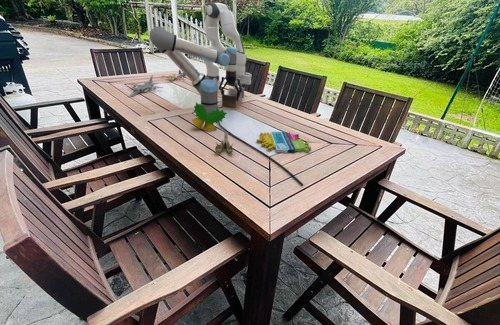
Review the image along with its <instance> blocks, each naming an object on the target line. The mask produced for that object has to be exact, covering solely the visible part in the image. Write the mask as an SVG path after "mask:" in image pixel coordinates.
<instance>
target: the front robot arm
mask: <svg viewBox="0 0 500 325" xmlns="http://www.w3.org/2000/svg"><path fill="white" fill-rule="evenodd" d="M149 40H150V42H151V43H152V45H153V46H154V47H156V49H158V50H159V52H161V54H164V55H166V56H167V57H168V58H169V59H170V60H171V61H172V62H173V63H174V64H175V65H176V66H177V68H179V70H181V72H182V74H183V73H184V74H185V75H186V76H185V77H187V78H188V79H189V80H190V81H191V86H193V87H194V89H195V90H196V91H197V92H198V93H199V94H200V104H201V106H204V109H206V112H208V113H211V112H212V110H214V111H216V110H217V109H219V111H221V110H220V108H219V102H218V99H219V98H218V97H219V92H218V84H217V82H216V81H214V80H210V79H208V78H207V77H206V74H205V73H203V72H200V70H198V68H197V67H196V66H195V65H194V64H193V63H192V61H191V60H190V59H189V58H188V57H187V56H186V55H188V56H192V57H195V58H198V59H201V60H203V59H204V60H208V61H211V62H213V63H215V64H217V65H219V66H223V67H225V76H221V80H220V81H221V83H220V86H219V90H221V91H220V95H221V96H222V94H223V93H224V92H225V90H224V89H225V88H226V86H227V85H229V84H232V85H233V87H235V88H236V90H237V91H238V92H237V101H238V100H239V97H240V92H242V91H243V90H242V88H243V87H242V86H241V83H240V78H239V79H237V78H236V71H235V70H236V59H237V48H236V47H233V46H227V47H225V48H226V50H225V51H219V50H213V49H210V48H207V47H204V46H205V45H201V44H199V43H195V42H192V41H190V40H189V41H188V40H186V39H184V38H180V37H179V36H178V35H177V34H174V33H171V32H170V31H168V30H166V28H164V27H162V26H155V27H153V28H151V30H150V32H149ZM236 80H237V82H238V86H239V88H238V86H237V84H236V82H235V81H236ZM222 85H223V86H222ZM239 89H240V90H239ZM208 113H207V115H208ZM217 125H219V127H220V128H221V129H223V130H224V131H225V132H228V135H231V136H232V137H233V138H235V139H237V140H238V141H240V142H242V143H243V144H245V145H247V146H248V147H250V148H251V149H254V150H255V151H257V152H258V153H260V154H262V155H263V156H264V157H266V158H268V159H269V160H270V161H272V162H274V163H275V164H276V165H277V166H279V167H280V168H281V169H283V170H284V171H285V172H286V173H287V174H289V175H290V176H291V177H292V178H293V179H294V180H295V181H297V183H298V184H300V186H304V184H303V182H302V181H301V180H299V178H297V177H296V176H295V175H294V174H293V173H292V172H291V171H289V170H288V168H286V167H284V166H283V165H282V164H281V163H279V162H278V161H277V160H275V159H274V158H272V157H271V156H270V155H268V154H267V153H264V152H263V151H261V149H258V148H257V147H255V146H253V145H251V144H249V143H248V142H246V141H245V140H243V139H241V138H240V137H238V136H236V135H235V134H233V133H232V132H231V131H229V130H228V129H226V128H225V127H224V126H223V125H221V121H219V122H218V123H217Z"/></svg>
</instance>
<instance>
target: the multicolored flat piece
mask: <svg viewBox="0 0 500 325" xmlns="http://www.w3.org/2000/svg"><path fill="white" fill-rule="evenodd" d="M299 136H300V135H299V134H298V133H296V134H294V133H291V132H287V131H270V132H264V133H263V132H260V133H259V139H258V138H257V139H256V143H257V144H261V148H263V147H264V148H265V149H267V151H268V152H271V151H272V150H273V149H275V152H276V153H283V154H285V153H287V154H288V153H290V154H293V153H296V152H298V153H301V152H305V153H310V151H311V150H312V149H311V148H312V146H309V142H304V141H303V139H302V138H299Z"/></svg>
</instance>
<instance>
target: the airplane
mask: <svg viewBox="0 0 500 325" xmlns="http://www.w3.org/2000/svg"><path fill="white" fill-rule="evenodd" d="M153 78H154V75H153V74H151V76H150V78H149V79H148V81H143V83H144V84H136V83H129V85H131V86H132V87H131V89H133V91H131V93H130V94H129V95H128V96H127V98H129V97H134V96H136V95H139V94H140V93H147V92H150V91H151V90H152V91H155V90H157V88H159V89H163V88H164V87H163V86H155V85H160V83H159V82H158V83H157V82H154V81H153Z"/></svg>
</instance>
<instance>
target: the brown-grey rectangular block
mask: <svg viewBox="0 0 500 325" xmlns="http://www.w3.org/2000/svg"><path fill="white" fill-rule="evenodd" d="M239 90H240V89H239ZM237 92H238V91H237V90H236V89H233V87H229V88H228V89H227V90H224V93H223V94H222V95H221V108H222V109H227V110H233V111H235V110H237V109H238V108H239V107H240V106H241V105H242V103H243V98H242V92H240V97H239V100H238V101H237Z"/></svg>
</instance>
